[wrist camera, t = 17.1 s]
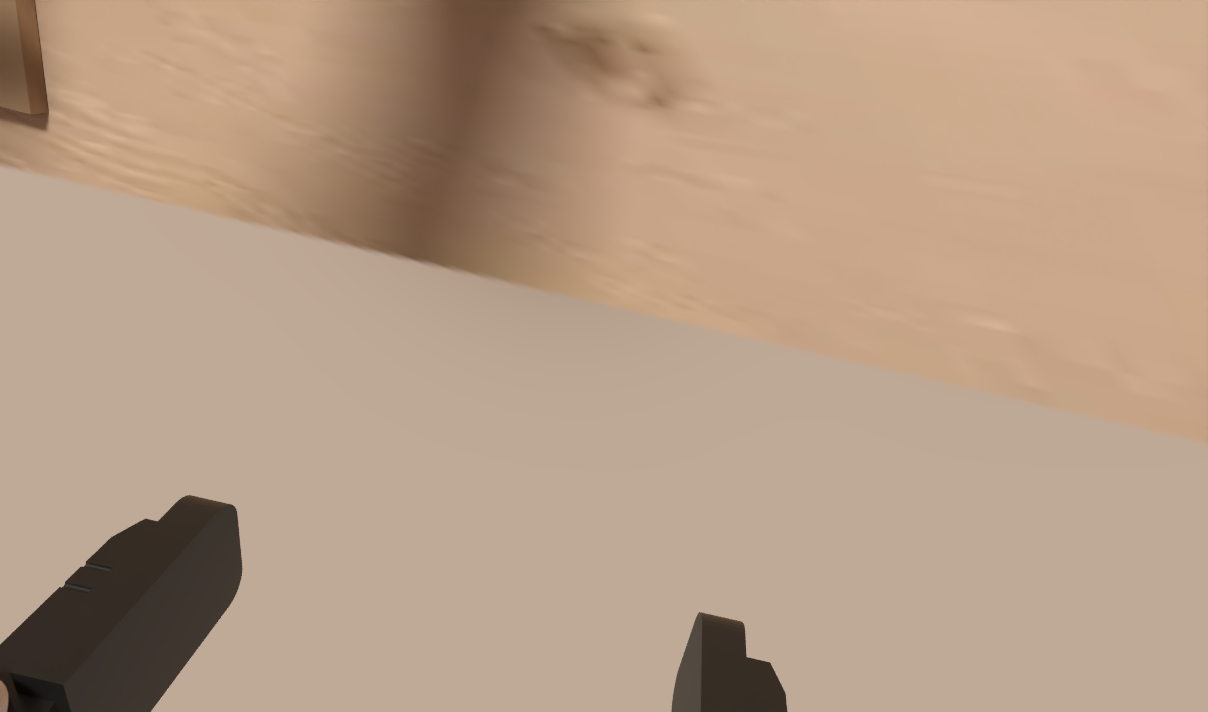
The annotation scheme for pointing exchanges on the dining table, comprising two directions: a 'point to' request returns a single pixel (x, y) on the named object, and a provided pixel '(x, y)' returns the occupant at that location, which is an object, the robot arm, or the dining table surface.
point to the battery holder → (21, 59)
